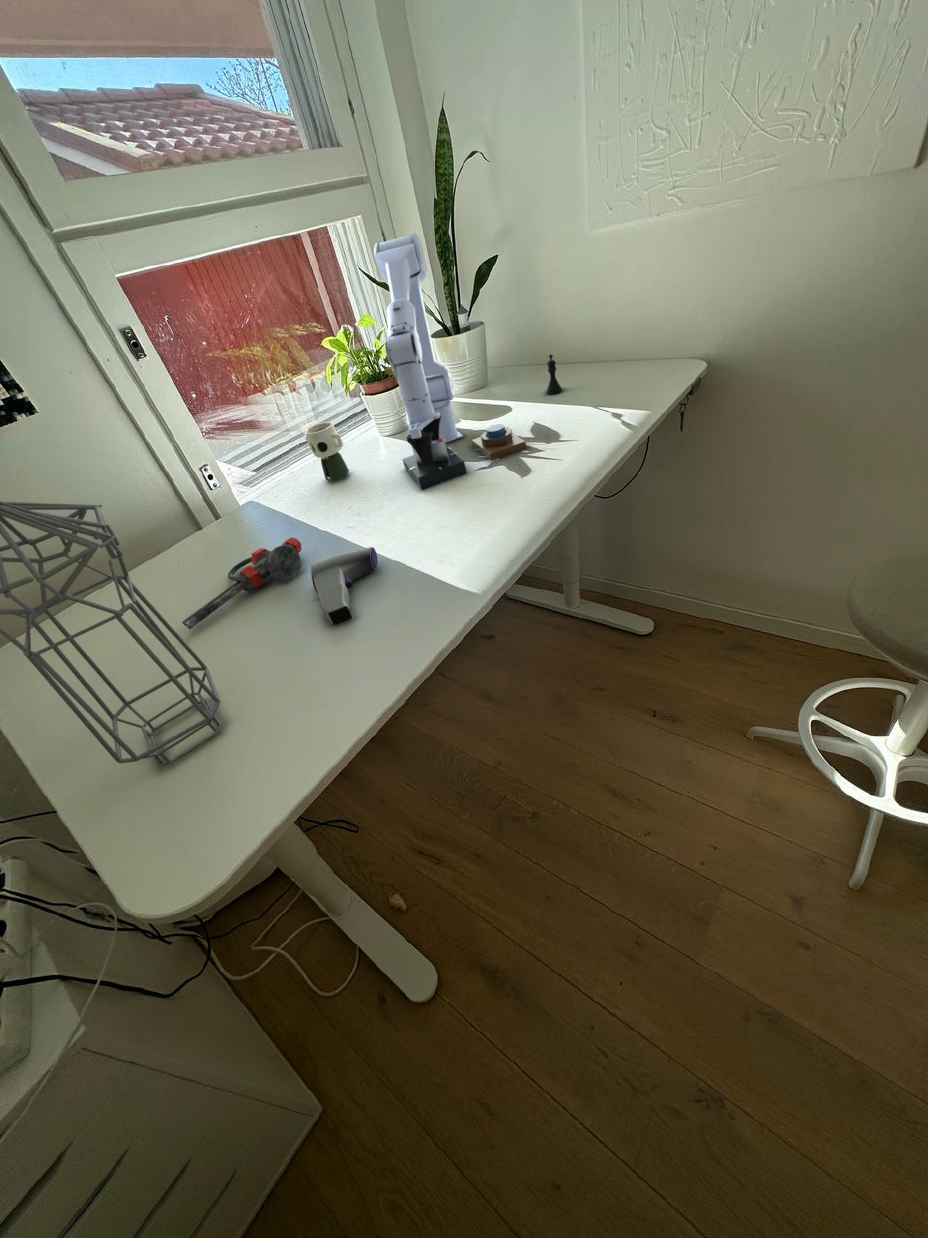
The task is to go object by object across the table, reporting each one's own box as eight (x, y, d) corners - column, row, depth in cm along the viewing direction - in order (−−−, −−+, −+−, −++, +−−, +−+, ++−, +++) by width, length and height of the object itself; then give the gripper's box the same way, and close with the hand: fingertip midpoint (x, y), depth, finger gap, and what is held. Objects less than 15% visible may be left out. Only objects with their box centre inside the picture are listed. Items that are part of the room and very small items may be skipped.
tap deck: (404, 471, 127) (400, 458, 125) (448, 455, 128) (445, 442, 126) (420, 490, 116) (416, 477, 114) (468, 473, 118) (465, 460, 116)
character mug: (313, 483, 133) (292, 434, 125) (330, 470, 138) (311, 422, 130) (346, 484, 128) (326, 432, 120) (362, 471, 133) (344, 420, 125)
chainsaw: (284, 551, 111) (321, 557, 101) (178, 628, 98) (208, 644, 88) (268, 526, 108) (304, 529, 97) (155, 602, 95) (183, 615, 85)
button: (484, 435, 125) (483, 428, 124) (501, 429, 125) (500, 422, 124) (491, 440, 121) (490, 432, 120) (508, 434, 122) (507, 426, 121)
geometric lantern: (136, 805, 63) (-128, 572, 42) (122, 731, 74) (-92, 517, 53) (256, 731, 69) (78, 490, 47) (226, 672, 80) (71, 456, 58)
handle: (417, 464, 120) (411, 445, 117) (418, 461, 121) (413, 442, 118) (448, 460, 118) (443, 440, 115) (449, 457, 119) (444, 437, 116)
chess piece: (553, 388, 150) (550, 351, 144) (565, 389, 147) (562, 351, 141) (543, 393, 149) (539, 356, 142) (554, 395, 146) (550, 357, 139)
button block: (472, 446, 129) (470, 432, 127) (505, 434, 131) (503, 420, 128) (491, 460, 120) (488, 446, 118) (526, 448, 121) (524, 433, 119)
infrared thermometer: (329, 632, 84) (315, 582, 94) (399, 604, 85) (378, 558, 96) (318, 611, 80) (305, 562, 91) (391, 583, 82) (370, 538, 93)
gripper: (426, 404, 104) (442, 468, 112) (440, 381, 115) (454, 441, 123) (393, 410, 106) (412, 472, 114) (410, 387, 117) (426, 445, 125)
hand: (432, 456), depth 119 cm, fingers open, 7 cm apart
